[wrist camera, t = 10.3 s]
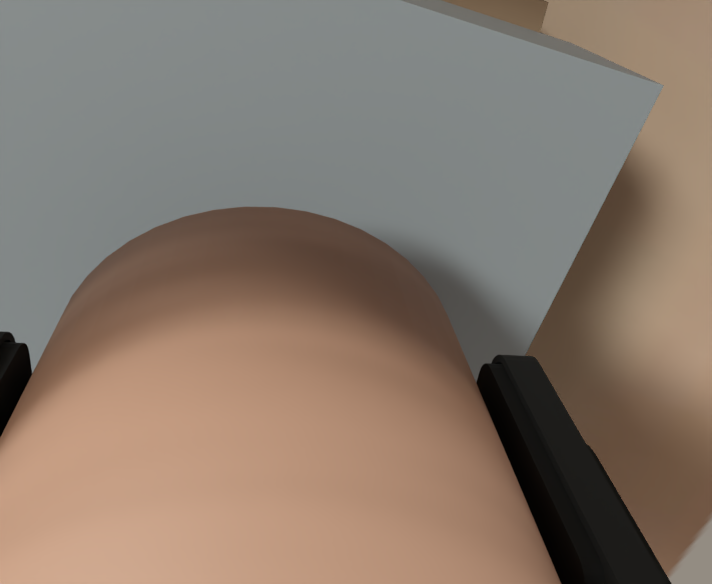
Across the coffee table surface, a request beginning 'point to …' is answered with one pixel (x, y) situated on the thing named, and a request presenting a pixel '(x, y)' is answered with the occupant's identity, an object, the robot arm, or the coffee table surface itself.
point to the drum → (259, 422)
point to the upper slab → (308, 142)
